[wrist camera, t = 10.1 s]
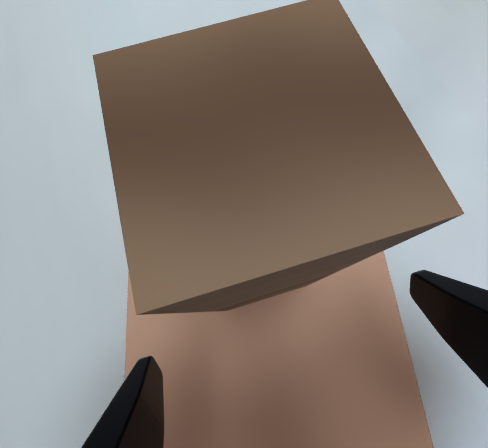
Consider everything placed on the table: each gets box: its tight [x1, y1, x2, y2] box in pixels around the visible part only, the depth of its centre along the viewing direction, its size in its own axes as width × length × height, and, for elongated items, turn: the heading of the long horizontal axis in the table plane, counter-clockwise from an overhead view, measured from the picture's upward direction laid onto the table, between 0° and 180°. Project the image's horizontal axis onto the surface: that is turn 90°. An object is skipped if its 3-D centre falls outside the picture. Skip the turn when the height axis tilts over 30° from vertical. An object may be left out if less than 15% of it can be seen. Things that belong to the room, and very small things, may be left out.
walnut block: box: [93, 0, 464, 315], centre depth 11 cm, size 5×5×13 cm
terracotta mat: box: [125, 251, 434, 448], centre depth 17 cm, size 16×16×1 cm
